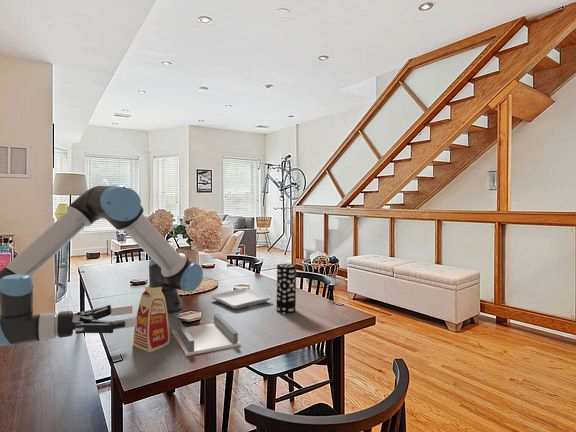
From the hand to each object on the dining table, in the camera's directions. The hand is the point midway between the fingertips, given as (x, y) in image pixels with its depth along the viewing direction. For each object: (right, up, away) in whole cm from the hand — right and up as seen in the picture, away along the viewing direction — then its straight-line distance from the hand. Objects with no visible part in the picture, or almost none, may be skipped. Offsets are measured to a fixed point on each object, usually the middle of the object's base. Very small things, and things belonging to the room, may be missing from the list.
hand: (134, 315), depth 120 cm
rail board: (+21, -11, +9) cm, 25 cm away
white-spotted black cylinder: (+49, -9, +41) cm, 65 cm away
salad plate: (+28, -9, +53) cm, 61 cm away
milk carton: (+4, -11, +4) cm, 12 cm away
